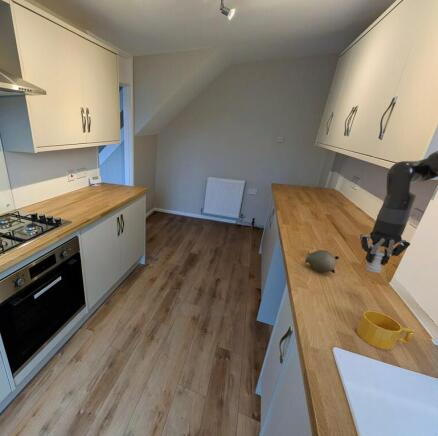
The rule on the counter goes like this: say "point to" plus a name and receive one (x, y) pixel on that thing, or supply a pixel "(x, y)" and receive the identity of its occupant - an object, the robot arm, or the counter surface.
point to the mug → (381, 330)
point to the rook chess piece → (375, 262)
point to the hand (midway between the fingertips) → (375, 262)
